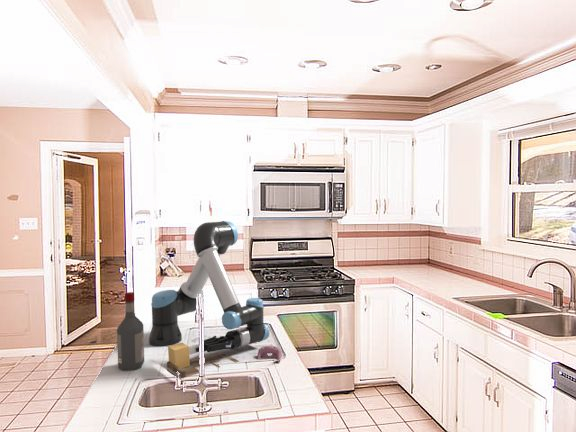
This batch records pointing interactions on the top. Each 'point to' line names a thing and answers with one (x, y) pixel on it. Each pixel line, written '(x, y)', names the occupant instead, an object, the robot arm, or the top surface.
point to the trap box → (197, 364)
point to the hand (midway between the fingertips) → (187, 351)
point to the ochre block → (179, 355)
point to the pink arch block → (269, 349)
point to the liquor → (130, 338)
